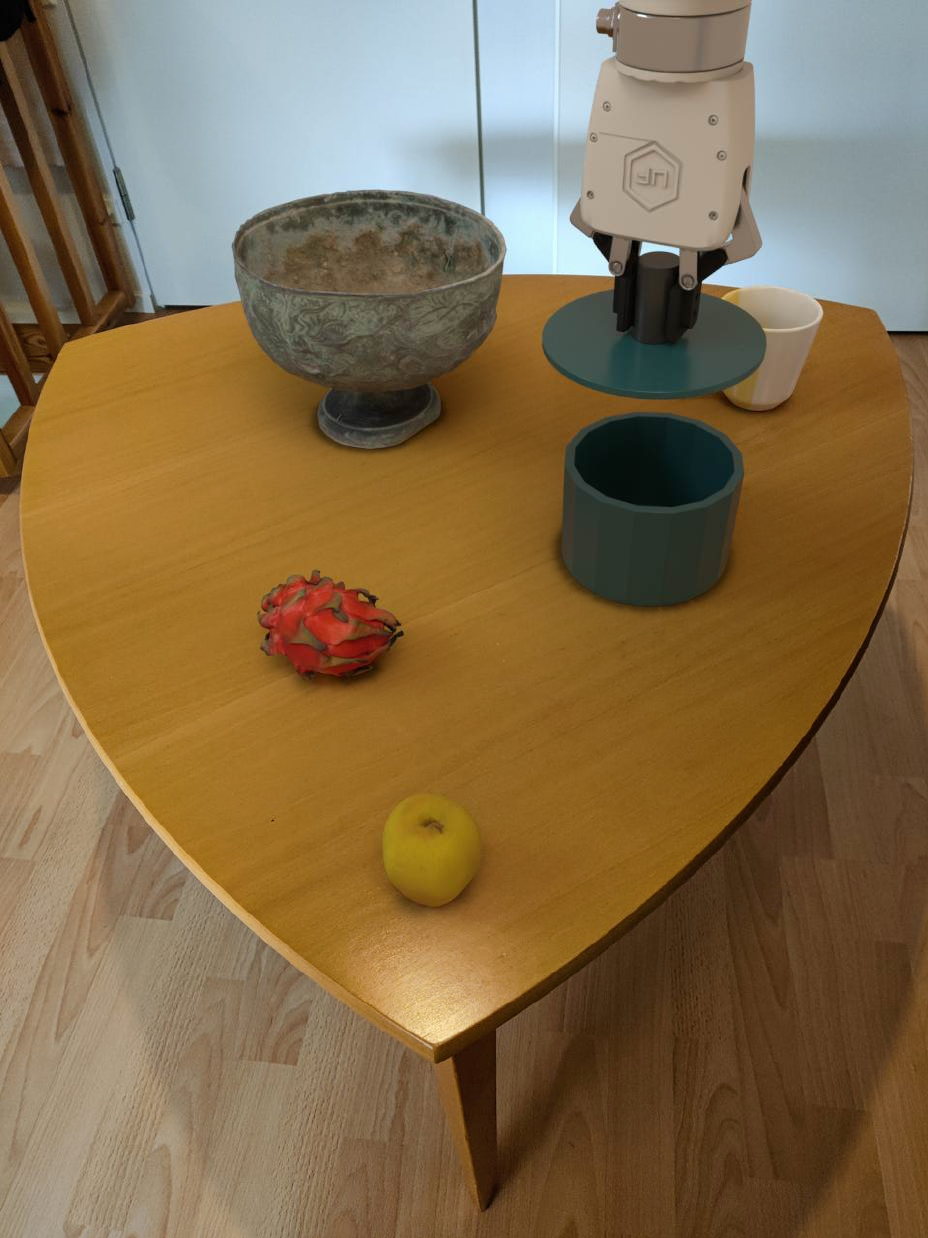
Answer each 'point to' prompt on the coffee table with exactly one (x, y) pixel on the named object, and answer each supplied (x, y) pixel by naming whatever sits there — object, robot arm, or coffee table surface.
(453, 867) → the apple
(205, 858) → the coffee table surface
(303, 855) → the coffee table surface
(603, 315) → the lid
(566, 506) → the pot
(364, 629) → the dragon fruit
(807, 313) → the mug
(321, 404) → the decorative bowl
